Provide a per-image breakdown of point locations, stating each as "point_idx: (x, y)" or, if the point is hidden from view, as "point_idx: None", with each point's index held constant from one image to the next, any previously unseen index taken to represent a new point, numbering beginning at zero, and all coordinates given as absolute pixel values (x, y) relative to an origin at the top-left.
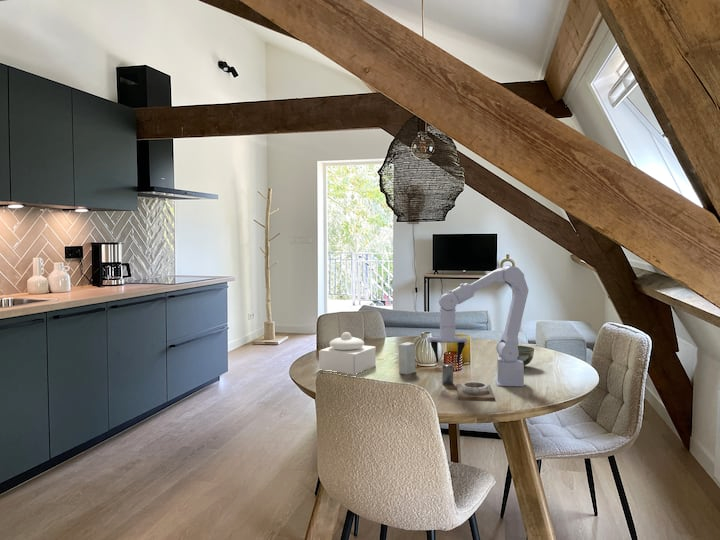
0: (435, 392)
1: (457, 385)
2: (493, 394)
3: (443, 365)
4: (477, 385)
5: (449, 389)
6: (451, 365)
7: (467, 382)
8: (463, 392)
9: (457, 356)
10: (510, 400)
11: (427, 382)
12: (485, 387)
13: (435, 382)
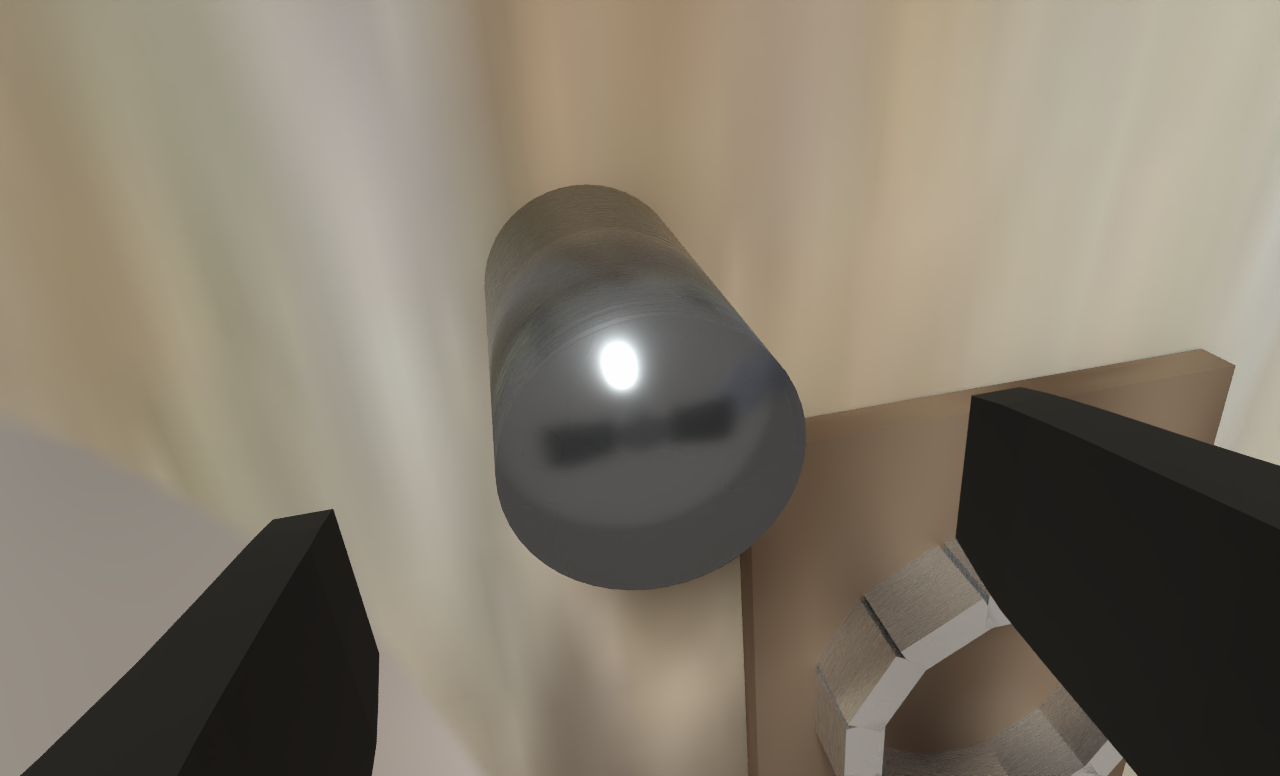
0: (464, 741)
1: None
2: None
3: (533, 504)
4: None
5: None
6: (760, 450)
7: (934, 650)
8: (824, 766)
9: (1095, 632)
10: None
11: (166, 276)
12: (1111, 769)
13: (332, 238)
